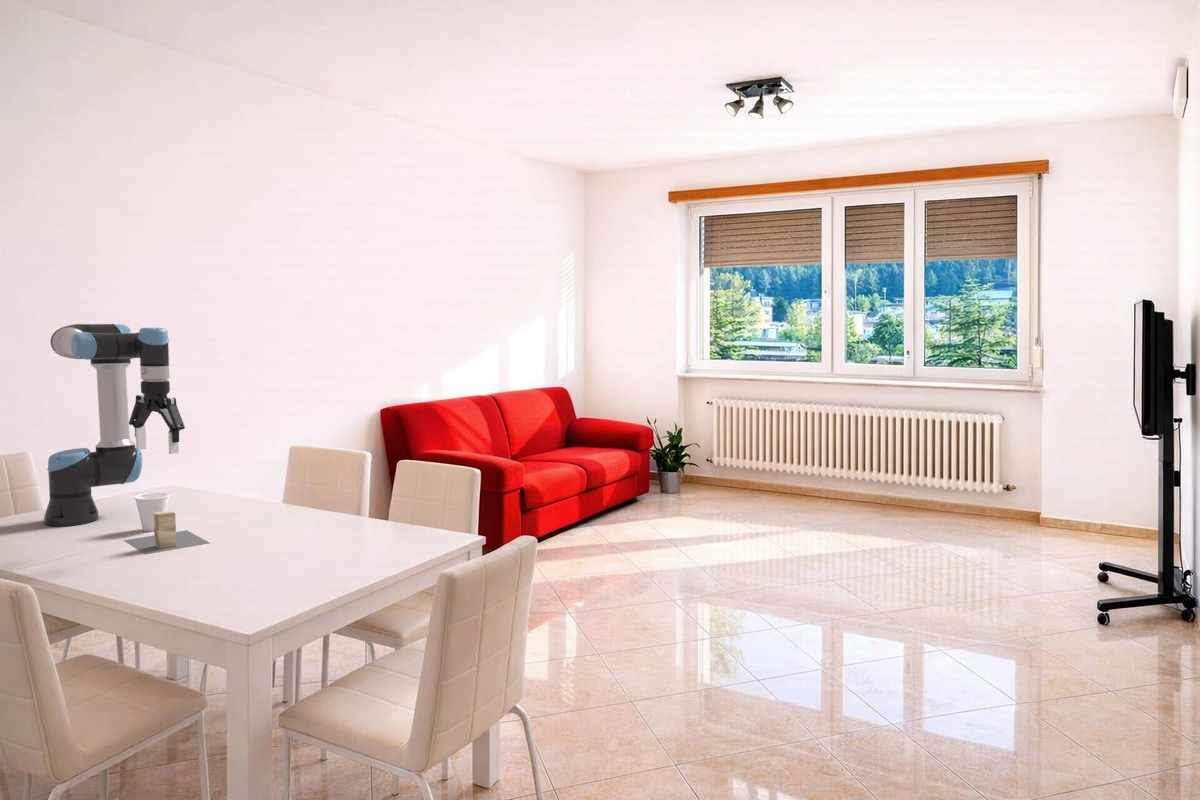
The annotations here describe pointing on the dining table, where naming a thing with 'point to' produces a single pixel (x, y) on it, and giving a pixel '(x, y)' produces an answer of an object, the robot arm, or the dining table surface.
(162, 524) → the beech block
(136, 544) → the mat
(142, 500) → the cup
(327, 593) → the dining table surface
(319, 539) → the dining table surface
